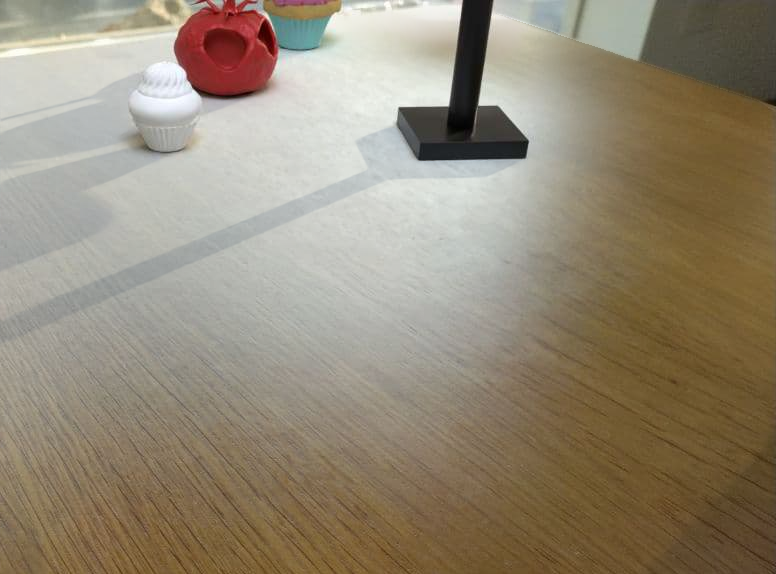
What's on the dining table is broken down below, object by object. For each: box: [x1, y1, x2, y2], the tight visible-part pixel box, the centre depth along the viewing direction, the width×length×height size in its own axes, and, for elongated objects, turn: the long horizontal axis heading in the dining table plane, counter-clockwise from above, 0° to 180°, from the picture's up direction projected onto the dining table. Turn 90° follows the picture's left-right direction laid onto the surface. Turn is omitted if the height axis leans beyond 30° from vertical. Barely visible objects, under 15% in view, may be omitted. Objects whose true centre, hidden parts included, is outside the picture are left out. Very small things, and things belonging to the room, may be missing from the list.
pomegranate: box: [173, 0, 279, 97], centre depth 93 cm, size 10×10×9 cm
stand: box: [396, 0, 530, 161], centre depth 80 cm, size 9×9×14 cm
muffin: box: [127, 60, 203, 153], centre depth 81 cm, size 6×6×7 cm
